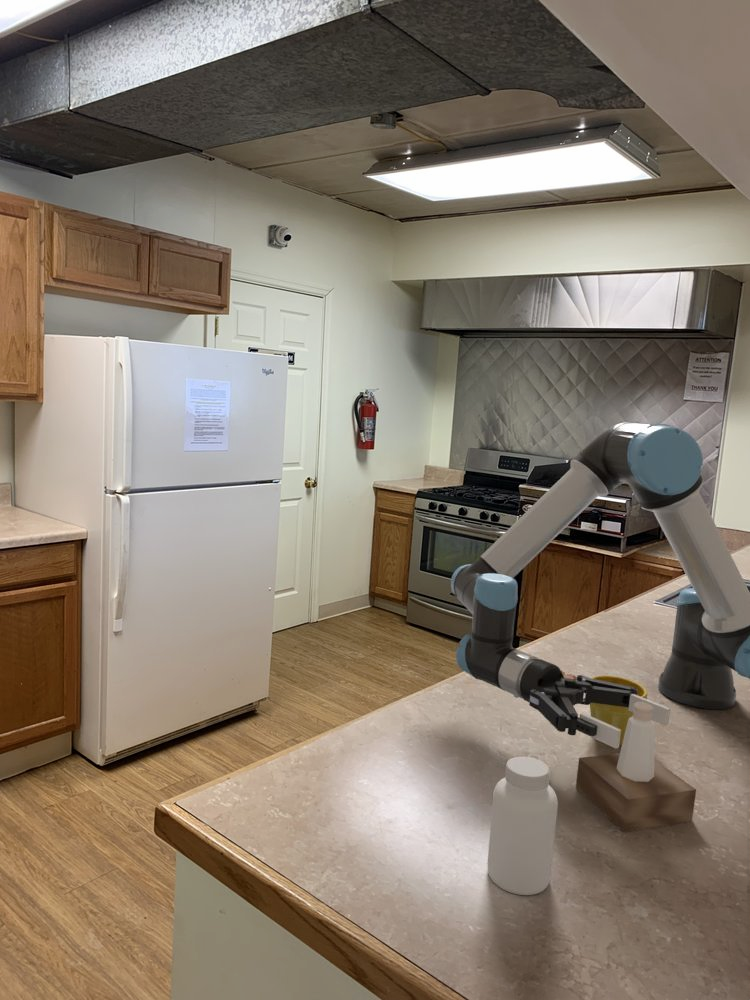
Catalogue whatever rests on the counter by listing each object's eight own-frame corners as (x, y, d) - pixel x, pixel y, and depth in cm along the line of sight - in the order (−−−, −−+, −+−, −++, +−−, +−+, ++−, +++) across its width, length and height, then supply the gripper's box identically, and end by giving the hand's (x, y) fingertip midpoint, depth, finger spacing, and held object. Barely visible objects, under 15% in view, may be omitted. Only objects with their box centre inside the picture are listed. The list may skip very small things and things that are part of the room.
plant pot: (645, 754, 128) (652, 701, 127) (584, 745, 130) (590, 693, 129) (636, 728, 138) (642, 679, 137) (580, 720, 140) (585, 671, 139)
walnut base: (638, 779, 120) (642, 750, 119) (691, 820, 108) (696, 789, 108) (575, 787, 116) (579, 757, 115) (624, 831, 104) (628, 799, 104)
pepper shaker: (653, 769, 113) (662, 701, 111) (654, 786, 108) (663, 715, 106) (616, 761, 115) (624, 694, 113) (615, 777, 110) (624, 708, 108)
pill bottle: (479, 856, 97) (489, 750, 95) (538, 856, 98) (550, 751, 95) (494, 897, 89) (505, 782, 87) (558, 897, 90) (571, 783, 88)
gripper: (573, 685, 134) (683, 731, 118) (480, 716, 119) (592, 774, 102) (577, 646, 133) (689, 686, 117) (484, 672, 117) (598, 723, 101)
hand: (644, 727), depth 110 cm, fingers open, 13 cm apart
